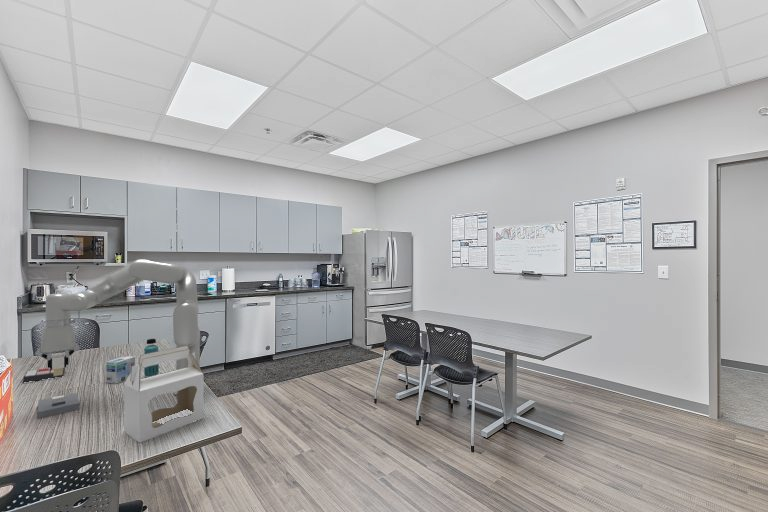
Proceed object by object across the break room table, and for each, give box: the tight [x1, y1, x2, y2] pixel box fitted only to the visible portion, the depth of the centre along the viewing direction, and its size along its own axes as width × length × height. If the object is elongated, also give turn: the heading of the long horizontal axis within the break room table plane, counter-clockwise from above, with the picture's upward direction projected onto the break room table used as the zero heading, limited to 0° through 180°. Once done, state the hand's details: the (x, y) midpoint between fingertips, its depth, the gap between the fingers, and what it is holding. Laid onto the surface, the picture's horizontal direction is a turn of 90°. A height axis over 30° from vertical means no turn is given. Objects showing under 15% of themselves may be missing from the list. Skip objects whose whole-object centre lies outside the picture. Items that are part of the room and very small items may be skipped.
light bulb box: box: [105, 355, 136, 385], centre depth 179 cm, size 11×7×11 cm, turn 168°
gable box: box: [123, 346, 205, 443], centre depth 130 cm, size 22×13×28 cm, turn 145°
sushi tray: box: [22, 367, 66, 383], centre depth 184 cm, size 11×4×15 cm
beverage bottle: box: [143, 338, 160, 377], centre depth 182 cm, size 6×7×20 cm
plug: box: [51, 354, 65, 376], centre depth 144 cm, size 5×4×7 cm
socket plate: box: [37, 392, 80, 419], centre depth 146 cm, size 16×12×3 cm
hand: (58, 367), depth 144 cm, fingers closed on plug, 3 cm apart
